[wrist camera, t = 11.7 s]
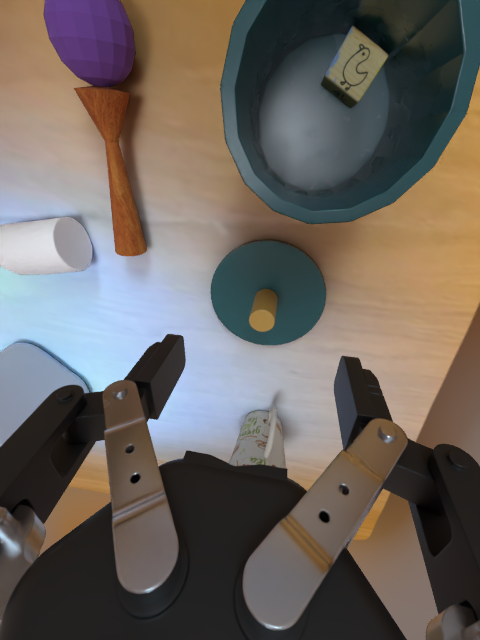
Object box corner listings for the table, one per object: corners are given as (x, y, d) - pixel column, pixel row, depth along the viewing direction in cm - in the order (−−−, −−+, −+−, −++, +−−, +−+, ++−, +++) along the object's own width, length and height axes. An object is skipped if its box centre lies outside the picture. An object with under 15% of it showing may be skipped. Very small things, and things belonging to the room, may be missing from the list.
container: (227, 86, 23) (178, 38, 14) (376, -24, 19) (463, -214, 9) (282, 220, 28) (276, 254, 18) (412, 156, 23) (495, 158, 14)
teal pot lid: (193, 267, 32) (173, 289, 27) (299, 216, 27) (300, 231, 22) (243, 351, 38) (235, 383, 32) (340, 320, 33) (349, 352, 27)
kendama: (89, 254, 29) (7, -44, 17) (127, 237, 34) (82, -8, 22) (136, 266, 28) (81, -52, 16) (169, 246, 32) (145, -12, 20)
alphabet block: (319, 85, 22) (346, 38, 20) (351, 109, 22) (379, 64, 21) (322, 77, 19) (353, 22, 18) (358, 104, 20) (391, 53, 18)
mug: (234, 432, 47) (220, 493, 38) (247, 380, 40) (234, 440, 32) (281, 444, 46) (278, 508, 38) (302, 393, 40) (305, 458, 31)
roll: (-4, 222, 34) (-52, 233, 29) (79, 212, 31) (41, 222, 26) (22, 268, 37) (-18, 285, 32) (99, 262, 34) (68, 280, 29)
